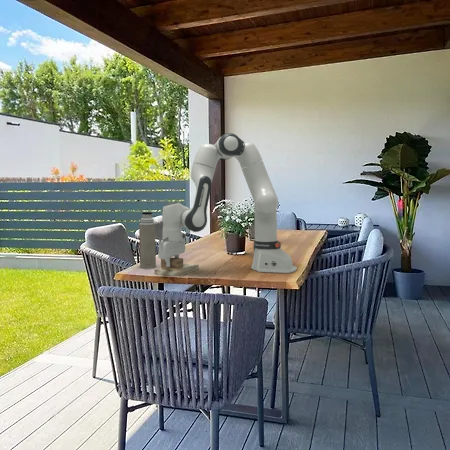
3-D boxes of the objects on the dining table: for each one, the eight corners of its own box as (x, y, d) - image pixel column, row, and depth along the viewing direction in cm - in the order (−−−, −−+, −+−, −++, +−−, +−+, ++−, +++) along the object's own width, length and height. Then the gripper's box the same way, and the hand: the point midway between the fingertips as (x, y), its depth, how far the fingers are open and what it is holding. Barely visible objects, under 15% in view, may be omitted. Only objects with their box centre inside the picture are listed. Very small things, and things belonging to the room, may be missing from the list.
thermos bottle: (138, 268, 226) (137, 212, 223) (141, 265, 234) (140, 211, 231) (154, 268, 226) (153, 212, 223) (157, 265, 234) (156, 211, 231)
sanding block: (183, 268, 216) (183, 258, 215) (177, 270, 211) (177, 260, 210) (166, 267, 219) (166, 257, 219) (161, 269, 214) (160, 259, 213)
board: (198, 268, 226) (198, 264, 225) (181, 276, 208) (180, 272, 208) (173, 266, 231) (173, 262, 231) (154, 274, 213) (154, 269, 213)
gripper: (166, 239, 202) (167, 269, 204) (187, 234, 221) (187, 261, 223) (154, 238, 205) (155, 268, 206) (176, 233, 224) (176, 261, 225)
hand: (172, 265), depth 215 cm, fingers closed on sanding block, 5 cm apart
